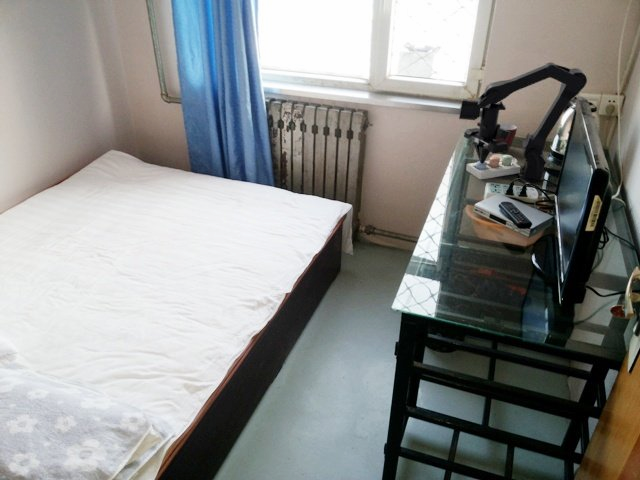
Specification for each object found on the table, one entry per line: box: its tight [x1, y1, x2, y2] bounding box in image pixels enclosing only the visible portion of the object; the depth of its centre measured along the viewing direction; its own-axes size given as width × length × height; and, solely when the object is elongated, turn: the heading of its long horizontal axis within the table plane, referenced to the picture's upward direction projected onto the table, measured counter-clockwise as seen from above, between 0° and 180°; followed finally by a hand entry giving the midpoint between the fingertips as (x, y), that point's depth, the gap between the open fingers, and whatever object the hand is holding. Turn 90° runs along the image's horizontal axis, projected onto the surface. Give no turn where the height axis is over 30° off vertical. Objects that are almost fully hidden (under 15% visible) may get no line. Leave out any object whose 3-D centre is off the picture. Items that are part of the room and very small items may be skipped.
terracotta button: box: [488, 156, 501, 168], centre depth 190 cm, size 4×4×3 cm
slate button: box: [475, 160, 487, 170], centre depth 189 cm, size 4×4×3 cm
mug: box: [494, 123, 518, 150], centre depth 209 cm, size 11×8×10 cm
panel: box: [465, 160, 521, 180], centre depth 192 cm, size 9×17×2 cm, turn 110°
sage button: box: [501, 154, 513, 166], centre depth 192 cm, size 4×4×3 cm
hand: (481, 162), depth 188 cm, fingers closed, pressing on slate button
